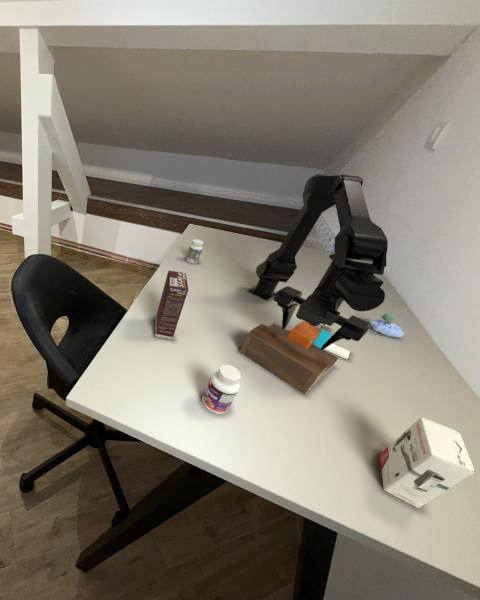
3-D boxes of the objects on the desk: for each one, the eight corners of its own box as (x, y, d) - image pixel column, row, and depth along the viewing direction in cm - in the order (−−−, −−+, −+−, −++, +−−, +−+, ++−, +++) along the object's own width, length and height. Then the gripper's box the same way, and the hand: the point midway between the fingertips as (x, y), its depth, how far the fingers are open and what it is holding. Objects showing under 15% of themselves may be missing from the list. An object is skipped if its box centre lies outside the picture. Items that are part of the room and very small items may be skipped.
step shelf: (269, 331, 88) (280, 311, 84) (332, 366, 78) (347, 345, 74) (239, 351, 80) (249, 331, 76) (304, 394, 70) (320, 373, 66)
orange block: (294, 335, 83) (303, 320, 80) (312, 345, 80) (322, 330, 77) (282, 344, 79) (291, 329, 76) (300, 355, 76) (310, 340, 73)
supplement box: (173, 340, 82) (189, 289, 73) (154, 336, 83) (168, 286, 74) (172, 320, 89) (186, 272, 80) (155, 317, 90) (167, 269, 81)
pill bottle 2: (197, 393, 68) (211, 361, 62) (220, 393, 68) (236, 361, 63) (207, 415, 63) (223, 382, 58) (232, 414, 64) (250, 382, 58)
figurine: (372, 333, 91) (387, 315, 87) (364, 320, 96) (377, 303, 93) (405, 341, 89) (421, 323, 85) (395, 328, 94) (410, 310, 90)
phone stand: (341, 376, 75) (345, 371, 74) (288, 350, 82) (291, 345, 81) (352, 339, 88) (356, 335, 87) (306, 320, 94) (308, 315, 93)
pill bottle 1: (196, 264, 120) (202, 244, 116) (184, 261, 122) (190, 241, 117) (199, 260, 124) (205, 241, 119) (187, 257, 126) (193, 237, 121)
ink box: (377, 452, 59) (420, 414, 52) (410, 467, 57) (459, 430, 50) (382, 491, 53) (431, 453, 46) (419, 510, 51) (476, 473, 44)
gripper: (276, 276, 71) (250, 328, 80) (373, 319, 59) (330, 375, 68) (297, 265, 77) (271, 315, 86) (390, 302, 65) (348, 356, 74)
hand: (301, 338), depth 78 cm, fingers open, 9 cm apart
